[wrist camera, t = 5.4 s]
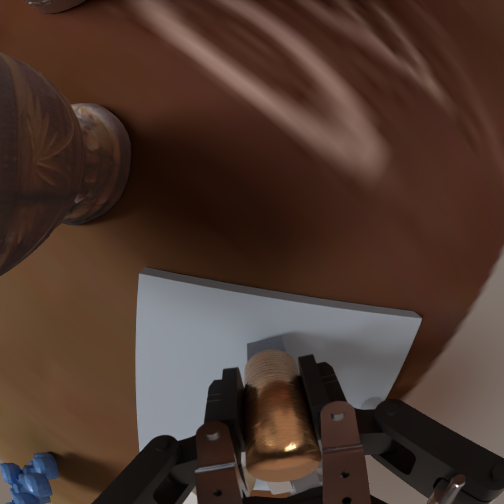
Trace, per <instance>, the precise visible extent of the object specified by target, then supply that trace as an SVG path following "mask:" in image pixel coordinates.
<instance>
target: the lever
mask: <svg viewBox="0 0 504 504" xmlns="http://www.w3.org/2000/svg"><path fill="white" fill-rule="evenodd" d="M244 400H245V454H246V469H247V471H248V473H249V474H250V475H252V476H253V477H255V478H257V479H260V480H263V481H266V483H267V485H268V487H269V489H270V491H271V492H272V494H273V495H274V494H280V493H285V492H290V496H292V495H295V494H297V493H300V492H303V491H305V490H308V489H310V488H314V487H319V486H323V475H318V474H317V470H316V468H317V467H318V466H319V465H320V463H321V460H322V455H321V451H320V447H319V443H318V440H317V436H316V432H315V429H314V427H313V423H312V419H311V415H310V411H309V408H308V404H307V400H306V396H305V393H304V389H303V385H302V382H301V378H300V374H299V370H298V367H297V363H296V361H295V360H294V358H293V357H292V356H291V355H289V354H288V353H286V350H285V346H284V342H283V338H282V335H280V336H276V337H272V338H268V339H264V340H260V341H256V342H252V343H247V363H246V365H245V369H244Z"/></svg>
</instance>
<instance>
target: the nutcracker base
mask: <svg viewBox="0 0 504 504" xmlns="http://www.w3.org/2000/svg"><path fill="white" fill-rule="evenodd" d="M421 321H422V318H421V317H420V316H419V315H418V314H417V313H415V312H414V311H407V310H400V309H392V308H384V307H377V306H369V305H362V304H355V303H348V302H341V301H334V300H328V299H321V298H315V297H308V296H302V295H295V294H289V293H283V292H277V291H271V290H265V289H259V288H253V287H247V286H242V285H236V284H230V283H225V282H219V281H214V280H209V279H203V278H198V277H193V276H187V275H182V274H177V273H172V272H167V271H162V270H157V269H152V268H147V267H145V268H144V269H143V270H142V271H141V272H140V273H139V283H138V299H137V320H136V403H137V423H138V437H139V449H140V452H141V451H142V449H143V448H144V447H145V446H146V445H147V444H148V443H149V442H150V441H151V440H152V439H153V438H155V437H157V436H160V435H170V436H173V437H174V438H176V440H177V441H179V440H183V439H186V438H189V437H192V436H194V435H196V431H197V429H198V428H199V427H200V426H201V425H203V424H204V417H205V410H206V403H207V396H208V388H209V386H210V385H211V383H212V382H213V381H214V380H219V379H222V372H223V369H225V368H233V367H239V370H240V374H241V378H242V382H243V385H244V369H245V365H246V363H247V343H252V342H256V341H260V340H264V339H268V338H272V337H276V336H280V335H282V338H283V342H284V346H285V350H286V353H288V354H289V355H291V356H292V357H293V358H294V360H295V361H296V363H297V367H298V370H299V364H298V357H299V356H304V355H309V354H313V355H314V358H315V361H316V363H321V362H327V363H328V364H329V365H331V366H332V367H333V369H334V372H335V375H336V376H337V379H338V381H339V383H340V386H341V388H342V391H343V393H344V395H345V398H346V400H347V402H348V403H350V404H351V405H352V406H353V407H354V408H357V409H364V410H366V409H375V408H376V407H377V405H378V404H379V403H381V402H382V401H385V399H386V397H387V395H388V394H389V392H390V390H391V388H392V386H393V384H394V382H395V380H396V378H397V376H398V374H399V372H400V369H401V367H402V365H403V363H404V361H405V359H406V356H407V354H408V352H409V350H410V347H411V345H412V343H413V340H414V338H415V336H416V333H417V331H418V328H419V326H420V323H421ZM299 374H300V372H299ZM318 443H319V447H320V451H321V455H322V444H321V440H318ZM241 462H242V466H243V467H245V466H246V454H245V452H241ZM316 470H317V474H318V475H323V471H322V460H321V463H320V465H319V466H318V467H317V468H316ZM253 490H270V489H269V487H268V485H267V483H266V481H263V480H260V479H257V478H256V482H255V486H254V488H253ZM183 504H197V494H196V486H195V487H194V489H193V490H192V492H191V493H190V494H189V496H188V497H187V499H186V500H185V501H184V503H183Z"/></svg>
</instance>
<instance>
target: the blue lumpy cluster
mask: <svg viewBox="0 0 504 504" xmlns="http://www.w3.org/2000/svg"><path fill="white" fill-rule="evenodd" d="M34 455H35V458H33V461H29V464H30V465H24V467H23V468H22V470H21V469H20V467H19V466H18V465H16V464H14V463H3V464H0V467H1V472H2V476H3V478H4V480H5V482H7V483H8V484H10V485H12V489H10V491H11V495H12V497H13V500H12V502H10V503H6V504H45V503H49V502H51V500H50V497H49V496H51V495H53V494H52V490H51V487H50V483H49V481H48V480H49V479H56V478H59V475H58V468H57V464H56V461H55V458H54V457H53V456H52V455H51V454H49V453H37V454H34Z"/></svg>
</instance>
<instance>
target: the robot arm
mask: <svg viewBox="0 0 504 504" xmlns="http://www.w3.org/2000/svg"><path fill="white" fill-rule="evenodd" d="M24 1H25V2H26V3H27V4H29V5H31V6H33V7H34V8H36V9H37V10H39V11H41V12H43V13H57V12H61V11H64V10H67V9H70V8H72V7H74V6H77V5H79V4H81V3H82V2H84V1H86V0H24ZM298 364H299V372H300V378H301V382H302V385H303V389H304V393H305V396H306V400H307V404H308V408H309V411H310V415H311V419H312V423H313V427H314V429H315V432H316V436H317V440H321V444H322V471H323V486H319V487H314V488H310V489H308V490H305V491H303V492H300V493H297V494H295V495H292V496H289V497H287V498H270V497H259V496H253V497H250V494H249V490H248V486H247V482H246V478H245V474H244V470H243V466H242V462H241V452H245V400H244V385H243V382H242V378H241V374H240V370H239V367H233V368H225V369H223V372H222V379H219V380H214V381H213V382H212V383H211V385H210V386H209V388H208V396H207V403H206V410H205V417H204V424H203V425H201V426H200V427H199V428H198V429H197V431H196V435H194V436H192V437H189V438H186V439H183V440H179V441H177V440H176V438H174V437H173V436H170V435H160V436H157V437H155V438H153V439H152V440H151V441H150V442H149V443H148V444H147V445H146V446H145V447H144V448H143V449H142V451H141V452H140V453H139V454H138V455H137V456H136V457H135V458H134V459H133V460H132V462H131V463H130V464H129V465H128V466H127V467H126V468H125V469H124V470H123V471H122V472H121V473H120V474H119V476H118V477H117V478H116V479H115V480H114V481H113V482H112V483H111V484H110V485H109V486H108V487H107V488H106V489H105V490H104V491H103V492H102V493H101V494H100V495H99V497H98V498H97V499H96V500H95V501H94V502H93V503H92V504H183V503H184V501H185V500H186V499H187V497H188V496H189V494H190V493H191V492H192V490H193V489H194V487H195V486H196V494H197V504H387V503H386V502H384V501H382V500H380V499H378V498H376V497H374V496H372V495H370V491H369V483H368V475H367V468H366V461H365V455H371V456H372V457H373V458H374V459H376V460H377V461H378V462H380V463H381V464H382V465H383V466H385V467H386V468H387V469H389V470H390V471H391V472H393V473H394V474H395V475H396V476H398V477H399V478H401V479H402V480H403V481H405V482H406V483H407V484H409V485H410V486H412V487H413V488H414V489H416V490H417V491H418V492H420V493H421V494H423V495H424V496H426V497H427V498H428V501H427V504H492V503H493V502H494V501H495V500H496V498H497V497H498V496H499V495H500V494H501V493H502V492H503V491H504V458H502V457H500V456H498V455H496V454H494V453H493V452H491V451H489V450H487V449H485V448H483V447H481V446H480V445H477V444H476V443H474V442H472V441H470V440H468V439H467V438H465V437H463V436H461V435H459V434H458V433H456V432H454V431H452V430H450V429H449V428H447V427H445V426H443V425H442V424H440V423H438V422H437V421H435V420H433V419H431V418H430V417H428V416H426V415H425V414H423V413H421V412H419V411H418V410H416V409H414V408H413V407H411V406H409V405H408V404H406V403H404V402H403V401H401V400H397V399H388V400H385V401H382V402H381V403H379V404H378V405H377V407H376V408H375V409H366V410H364V409H357V408H354V407H353V406H352V405H351V404H350V403H348V402H347V400H346V398H345V395H344V393H343V391H342V388H341V386H340V383H339V381H338V379H337V376H336V375H335V372H334V369H333V367H332V366H331V365H329V364H328V363H327V362H321V363H316V361H315V358H314V355H313V354H309V355H304V356H299V357H298Z"/></svg>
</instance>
